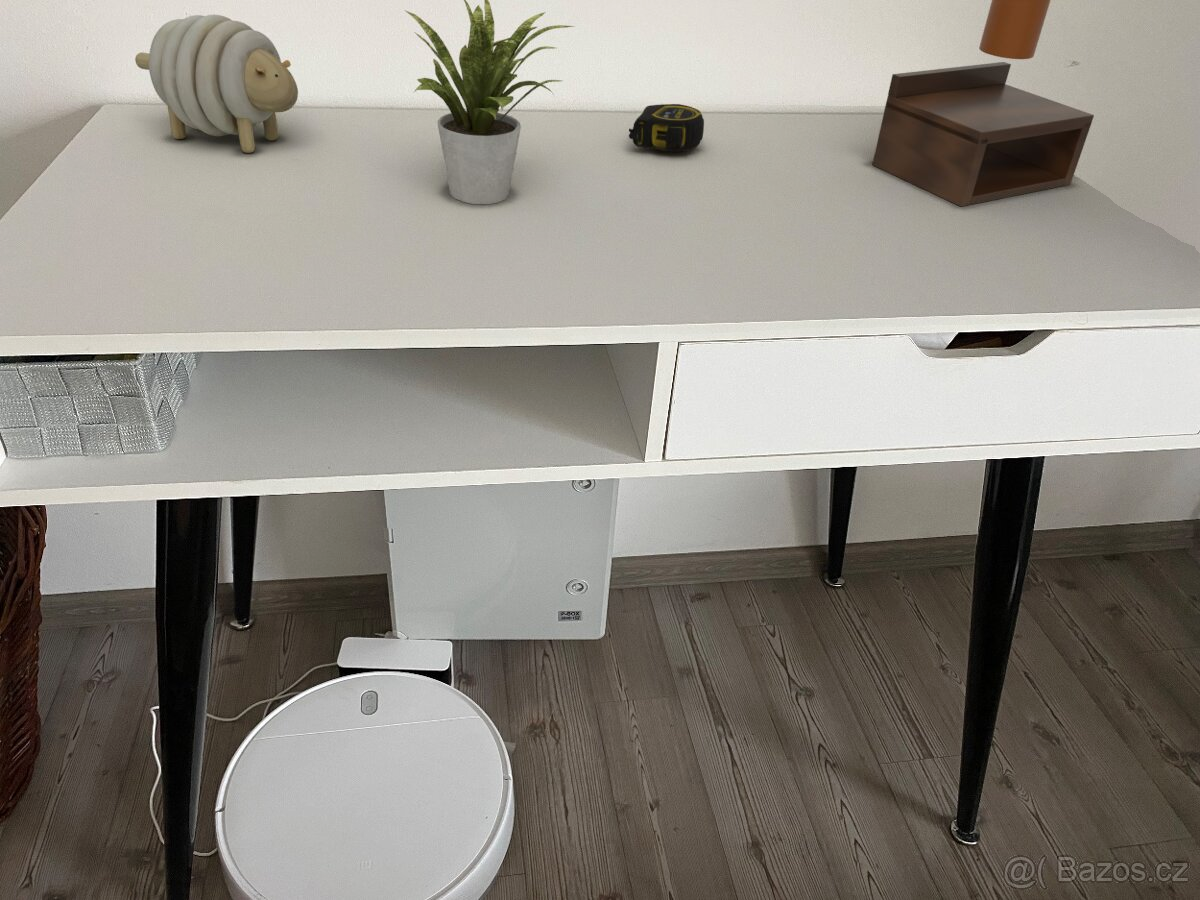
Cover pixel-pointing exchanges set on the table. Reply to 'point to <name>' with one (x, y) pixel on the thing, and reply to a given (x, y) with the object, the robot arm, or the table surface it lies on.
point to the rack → (977, 135)
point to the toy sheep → (219, 77)
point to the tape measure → (668, 127)
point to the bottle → (1013, 28)
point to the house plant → (480, 106)
